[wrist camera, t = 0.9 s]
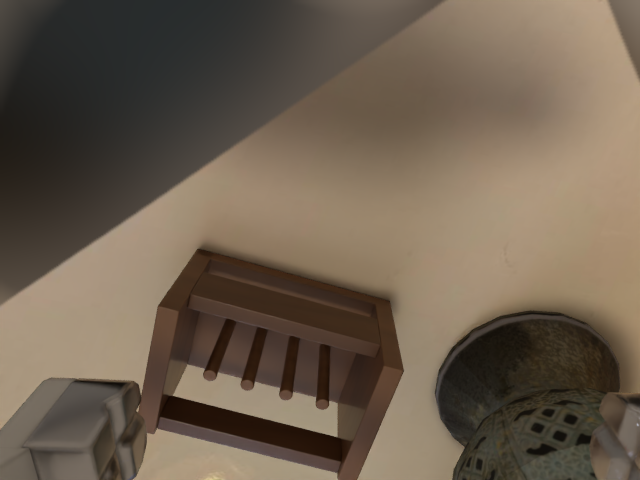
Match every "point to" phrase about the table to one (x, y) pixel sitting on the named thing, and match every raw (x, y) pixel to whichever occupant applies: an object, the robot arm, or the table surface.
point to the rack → (273, 359)
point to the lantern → (526, 397)
